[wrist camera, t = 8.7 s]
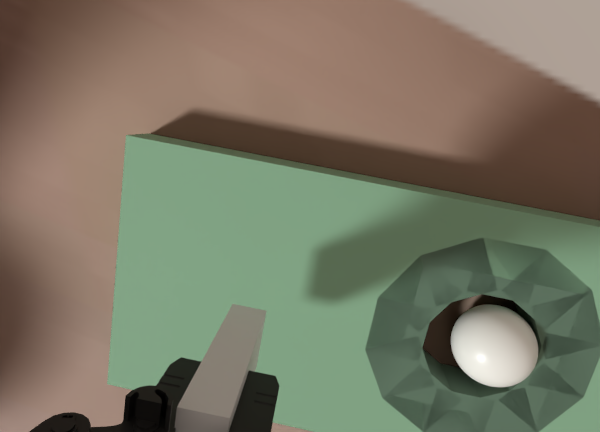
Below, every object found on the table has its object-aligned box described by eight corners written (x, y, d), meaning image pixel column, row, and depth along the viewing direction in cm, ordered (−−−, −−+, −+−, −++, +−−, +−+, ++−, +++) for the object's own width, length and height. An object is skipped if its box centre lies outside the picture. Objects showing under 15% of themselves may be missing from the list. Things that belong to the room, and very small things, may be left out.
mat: (129, 359, 26) (107, 384, 23) (149, 133, 22) (126, 135, 20) (552, 454, 24) (576, 492, 22) (643, 228, 21) (683, 243, 18)
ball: (479, 350, 24) (538, 401, 20) (425, 354, 22) (479, 410, 19) (503, 290, 23) (570, 333, 19) (448, 289, 21) (509, 336, 18)
